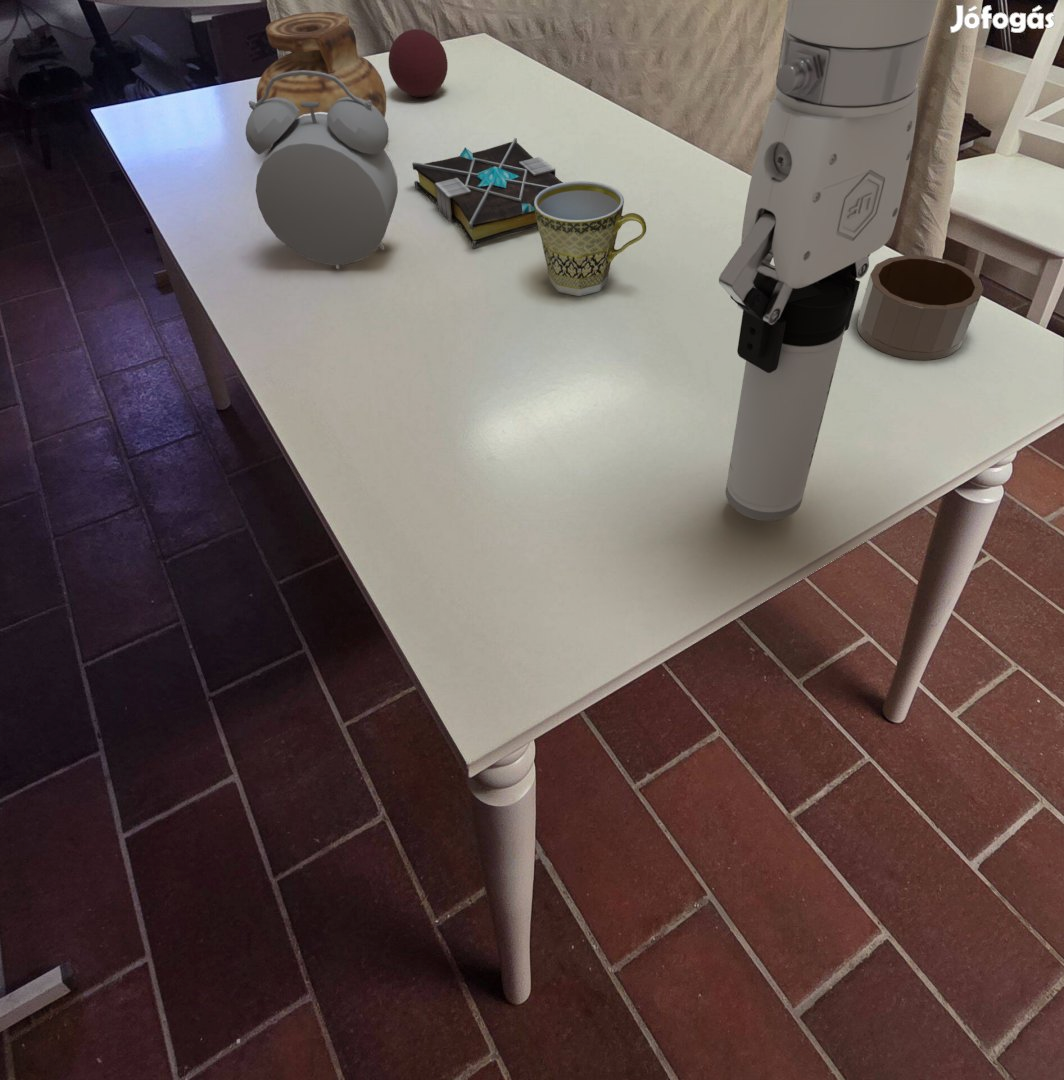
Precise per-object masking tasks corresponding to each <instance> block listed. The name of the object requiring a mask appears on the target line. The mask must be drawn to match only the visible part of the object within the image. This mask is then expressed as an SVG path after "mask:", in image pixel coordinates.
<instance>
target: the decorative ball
mask: <svg viewBox="0 0 1064 1080" xmlns="http://www.w3.org/2000/svg"><path fill="white" fill-rule="evenodd" d="M448 65H449V64H448V57H447V53H446V51H445V48H444V46H443V44H442V43H441V41H440V40H439V39H438V38H437V37H436V36H435V35H433V34H432V33H431V32H429V31H428V30H427V31H426V30H424V29H420V28H419V29H417V28H412V29H409V30H405V31H404V32H402V33H401V34H398V36H397V37H396V38H395V40H394V41H393V43H392V44H391V47H390V49H389V52H388V69H389V74H390V75H391V78H392V80H393V82H394V83H395V85H396V87H398V88H399V89H400V91H403V93H405V94H407V95H409V96H412V97H415V98H424V97H429V96H431V95H433V94H434V93H436V92H437V91H439V89H441V87H442V86H443V84H444V82H445V80H446V77H447V75H448V67H449V66H448Z"/></svg>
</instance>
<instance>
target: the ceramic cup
mask: <svg viewBox="0 0 1064 1080" xmlns="http://www.w3.org/2000/svg"><path fill="white" fill-rule="evenodd" d="M624 203H625V199H624V196H623V194H622V193H621V192H620V191H619V190H618V189H617V188H614V187H613V186H611V185H608V184H606V183H601V182H597V181H590V180H589V181H588V180H574V181H567V182H566V181H564V182H563V183H560V184H556V185H553V186H550V187H548V188H546V189H544V190H543V191H541V192H540V193H539V194H538V195H537V196H536V198H535V201H534V207H535V214H536V219H537V224H538V227H537V229H538V233H539V236H540V240H541V243H542V249H543V255H544V259H545V263H546V268H547V269H546V270H547V273H548V277H549V282H550V284H552V286H553V287H554V288H555V289H556V291H557V292H558V293H561V294H565V295H566V294H567V295H572V296H576V297H583V296H586V295H590V294H594V293H599V292H601V290H603V288H604V287H605V285H606V284H607V282H608V279H609V273H610V269H611V264H612V262H613V260H614V259H615V257H616V256H617V255H619V254H621V253H622V252H624V251H625V250H626V249H627V248H629V247H630V246H631V245H634V244H635V243H637V242H639V241H640V240H642V239H643V237H644V236H645V235H646V232H647V222H646V221H645V219H644V217H643V216H642V215H640V214H638V213H635V212H629V213H626V214H624V215H623V210H624ZM631 221H633V222H636V223H639V224H640V225H641V229H642V231H641V233H640V234H639V235H638V236H637V237H635V238H632V239H631V240H629V241H627V242H626V243H625V244H623V245H622V246H621V247H620V248H618V249H616V248H615V246H616V241H617V237H618V233H619V231H620V229H621V228H622V226H623V225H624V224H625V223H628V222H631Z"/></svg>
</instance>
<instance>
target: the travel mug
mask: <svg viewBox="0 0 1064 1080" xmlns="http://www.w3.org/2000/svg"><path fill="white" fill-rule="evenodd" d="M829 277H830V275H829V276H827V277H825V278H823V279H821V280H819V281H817V282H815V283H813V284H810V285H808V286H805V287H802V288H793V290H792V292H791V294H790V297H789V299H788V301H787V303H786V305H785V307H784V310H783V312H782V314H781V316H780V317H781V318H783V319H784V320H786V326H785V331H784V336H783V342H782V347H781V352H780V357H779V363H778V367H777V369H776V370H775V371H773V372H771V373H767V372H765V371H763V370H762V369H760V368H758V367H756V366H755V365H753V364H751V363H750V362H748V361H746V360H745V365H744V371H743V378H742V384H741V390H740V397H739V403H738V409H737V416H736V420H735V421H736V422H735V428H734V433H733V440H732V447H731V448H732V449H731V453H730V459H729V460H730V461H729V467H728V473H727V479H726V485H725V497H726V500H727V502H728V504H729V505H730V506H731V507H732V508H733V509H734V510H735V511H736V512H738V513H739V514H741V515H743V517H744V516H745V517H747V518H749V519H752V520H756V521H763V522H773V521H781V520H783V519H786V518H788V517H791V516H792V515H794V514H795V513H796V512H797V511H798V510H799V508H800V507H801V505H802V502H803V498H804V494H805V490H806V486H807V483H808V478H809V474H810V470H811V466H812V463H813V460H814V459H813V458H814V454H815V450H816V448H817V447H816V446H817V443H818V439H819V435H820V430H821V427H822V423H823V420H824V419H823V418H824V414H825V411H826V408H827V407H826V406H827V403H828V399H829V395H830V392H831V391H830V390H831V387H832V383H833V378H834V375H835V372H836V368H837V367H836V366H837V363H838V359H839V356H840V351H841V347H842V343H843V337H844V334H845V332H846V331H845V324H846V318H847V315H848V312H849V308H850V304H851V300H852V292H851V290H850V289H849V288H848V287H845V286H844V285H843V284H841V283H840V282H838V281H836V280H835V279H831V278H829ZM776 285H777V281H775V280H773V279H771V278H769V277H767V276H766V279H765V281H764V283H763V286H762V288H761V290H760V291H762V292H763V294H764V295H765V296H766V297H767V298H768V299H769V300H770V298H771V296H772V293H773V291H774V289H775V287H776ZM844 331H845V332H844Z"/></svg>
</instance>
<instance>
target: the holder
mask: <svg viewBox="0 0 1064 1080" xmlns="http://www.w3.org/2000/svg"><path fill="white" fill-rule="evenodd" d="M984 289H985V288H984V286H983V284H982V282H981V280H980V277H978V276H977V275H976V274H974V272H972V271H971V270H970V269H969V268H967V267H965V266H963V265H961V264H958V263H957V262H956V263H955V262H954V261H951V260H948V259H945V258H939V257H936V256H930V255H919V254H917V255H916V254H905V255H898V256H893V257H889V258H888V257H887V258H886V259H884V260H882V261H880V262H879V263H877V264H875V266H874V267H873V269H872V270H871V272H870V274H869V277H868V281H867V284H866V287H865V291H864V294H863V299H862V301H861V306H860V309H859V313H858V319H857V323H856V327H857V331H858V333H859V335H860V337H861V338H862V339H863V340H864V342H866V343H867V344H868V345H870V346H871V347H873V348H874V349H876V350H877V351H880V352H882V353H885V354H887V355H889V356H892V357H896V358H901V359H905V360H911V361H912V360H913V361H933V360H938V359H942V358H945V357H948V356H950V355H953V354H954V353H955V352H957V351H958V349H959V348H960V347H961V346H962V344H963V341H964V339H965V336H966V334H967V332H968V329H969V327H970V324H971V322H972V320H973V317H974V315H975V312H976V309H977V307H978V305H979V302H980V300H981V297H982V294H983V292H984V291H985V290H984Z"/></svg>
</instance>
